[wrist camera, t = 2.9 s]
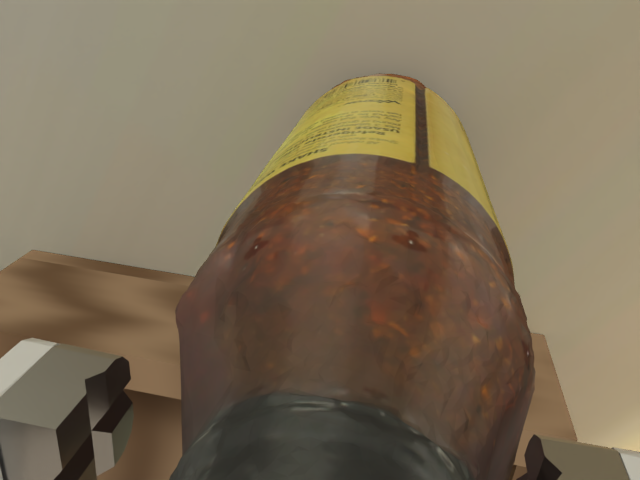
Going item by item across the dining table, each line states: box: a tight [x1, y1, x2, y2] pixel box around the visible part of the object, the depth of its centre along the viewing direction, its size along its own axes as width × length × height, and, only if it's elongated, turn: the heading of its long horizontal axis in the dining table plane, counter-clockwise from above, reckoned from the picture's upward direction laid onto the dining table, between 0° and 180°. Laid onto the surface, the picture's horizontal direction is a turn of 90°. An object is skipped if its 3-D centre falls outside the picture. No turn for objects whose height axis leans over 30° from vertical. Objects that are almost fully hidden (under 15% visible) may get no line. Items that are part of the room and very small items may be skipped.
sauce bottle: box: [169, 74, 536, 480], centre depth 12 cm, size 7×6×20 cm
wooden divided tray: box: [0, 250, 577, 480], centre depth 25 cm, size 22×15×6 cm, turn 85°
